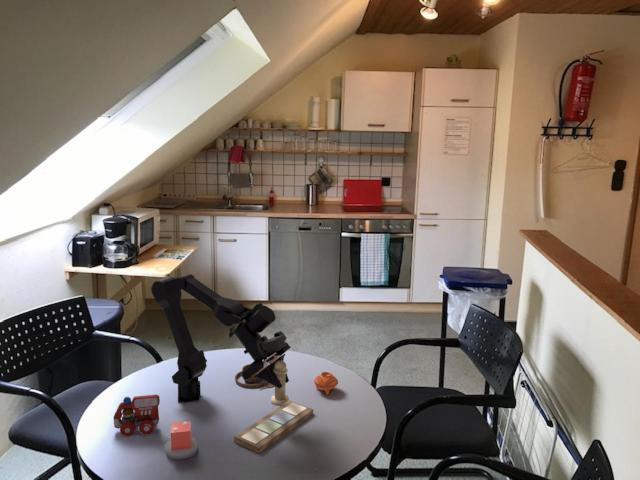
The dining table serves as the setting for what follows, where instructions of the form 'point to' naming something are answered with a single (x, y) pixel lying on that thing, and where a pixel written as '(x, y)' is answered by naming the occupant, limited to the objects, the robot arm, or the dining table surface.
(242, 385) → the place setting
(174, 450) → the orange cube on disc
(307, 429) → the dining table surface
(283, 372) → the pawn
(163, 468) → the dining table surface
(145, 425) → the toy fire truck
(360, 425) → the dining table surface
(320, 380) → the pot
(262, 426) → the game board
